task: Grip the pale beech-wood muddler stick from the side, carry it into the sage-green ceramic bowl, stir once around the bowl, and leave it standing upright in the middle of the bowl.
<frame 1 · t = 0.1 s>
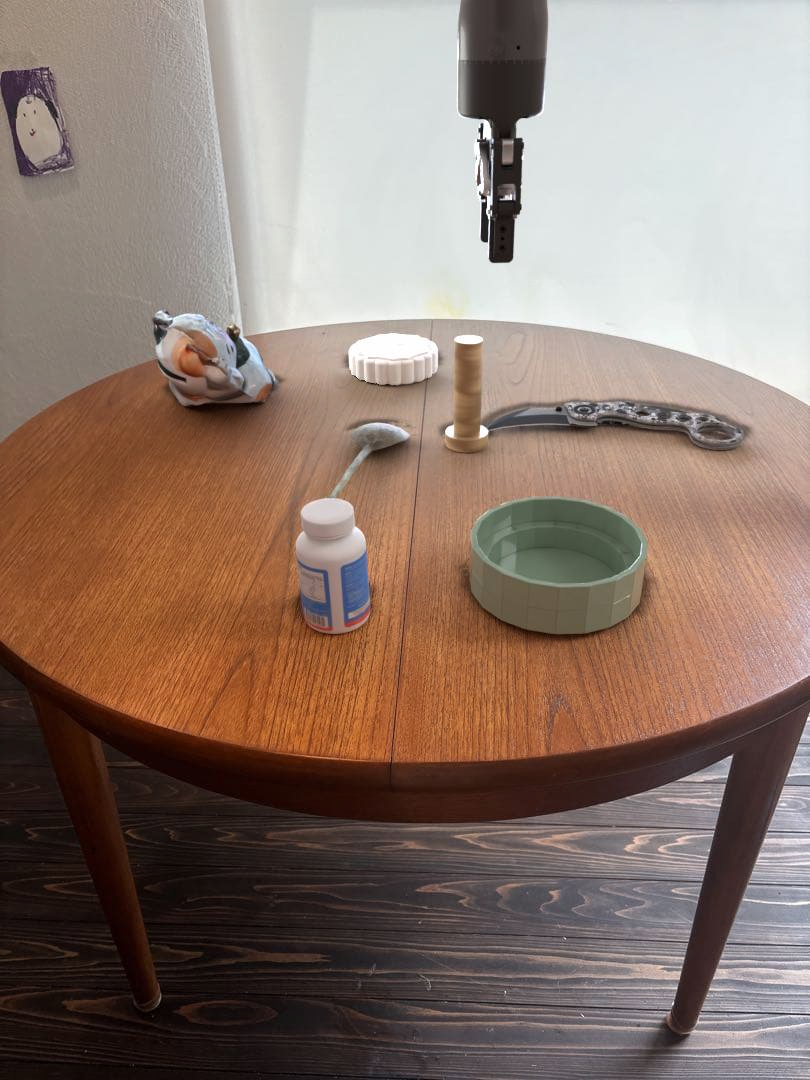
hand: (495, 251, 82), 22 cm above the table, tool pointing down, fingers open, 8 cm apart
pill bottle: (336, 617, 70), on the table
lucky cat figurine: (221, 400, 110), on the table
mooncake: (393, 371, 118), on the table
soupspoon: (358, 476, 91), on the table
muddler: (466, 443, 97), on the table
knife: (611, 430, 100), on the table
bowl: (553, 588, 72), on the table
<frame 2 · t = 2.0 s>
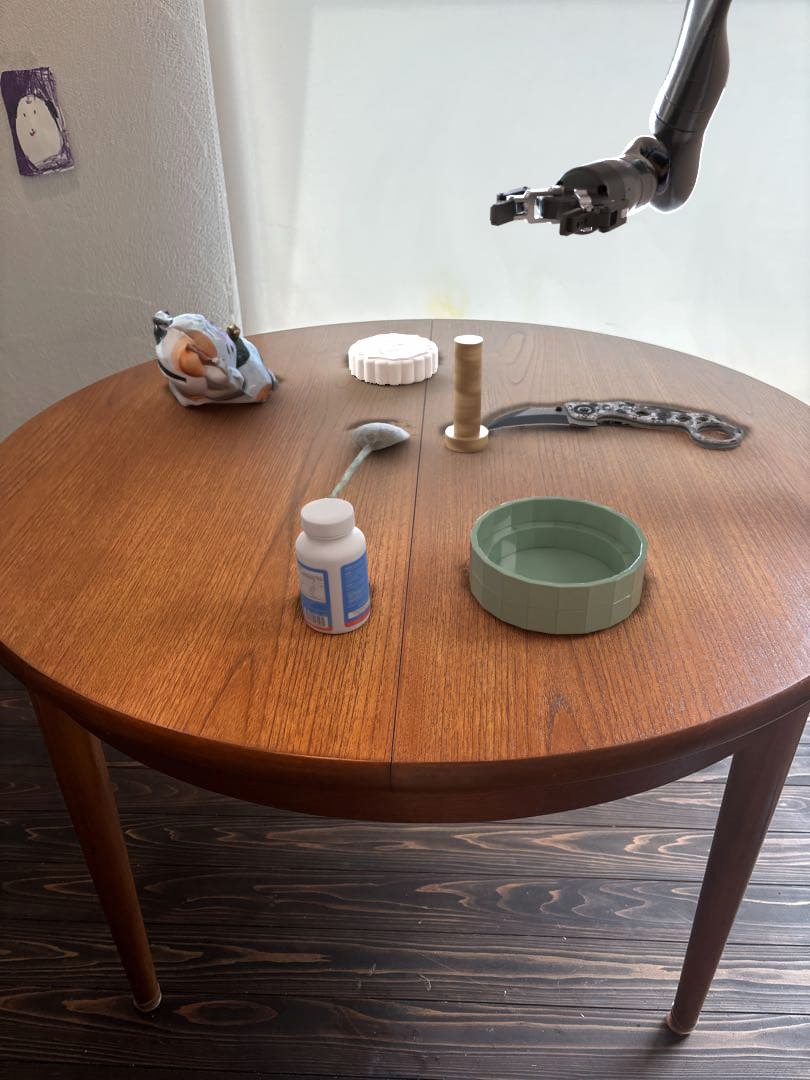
hand: (527, 220, 92), 22 cm above the table, tool horizontal, fingers open, 8 cm apart
nothing on the table moved.
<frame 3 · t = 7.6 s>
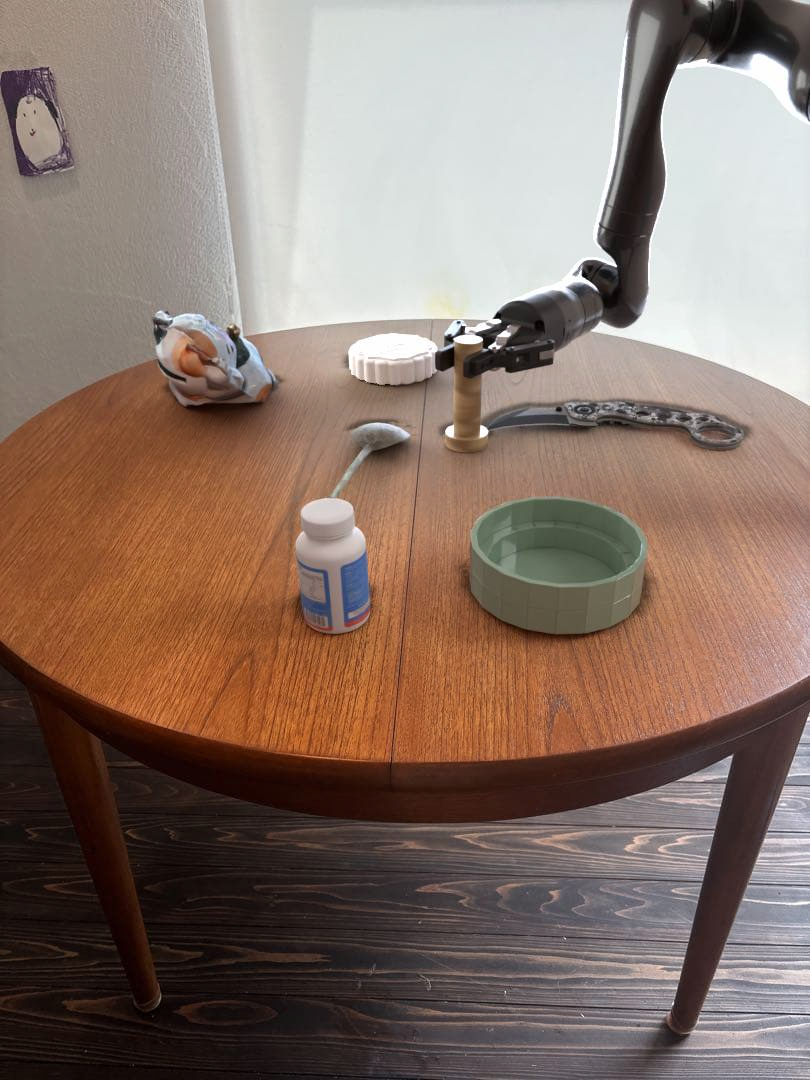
hand: (452, 365, 90), 10 cm above the table, tool horizontal, fingers closed on muddler, 3 cm apart
muddler: (466, 443, 97), on the table, touching gripper
everything else where it was.
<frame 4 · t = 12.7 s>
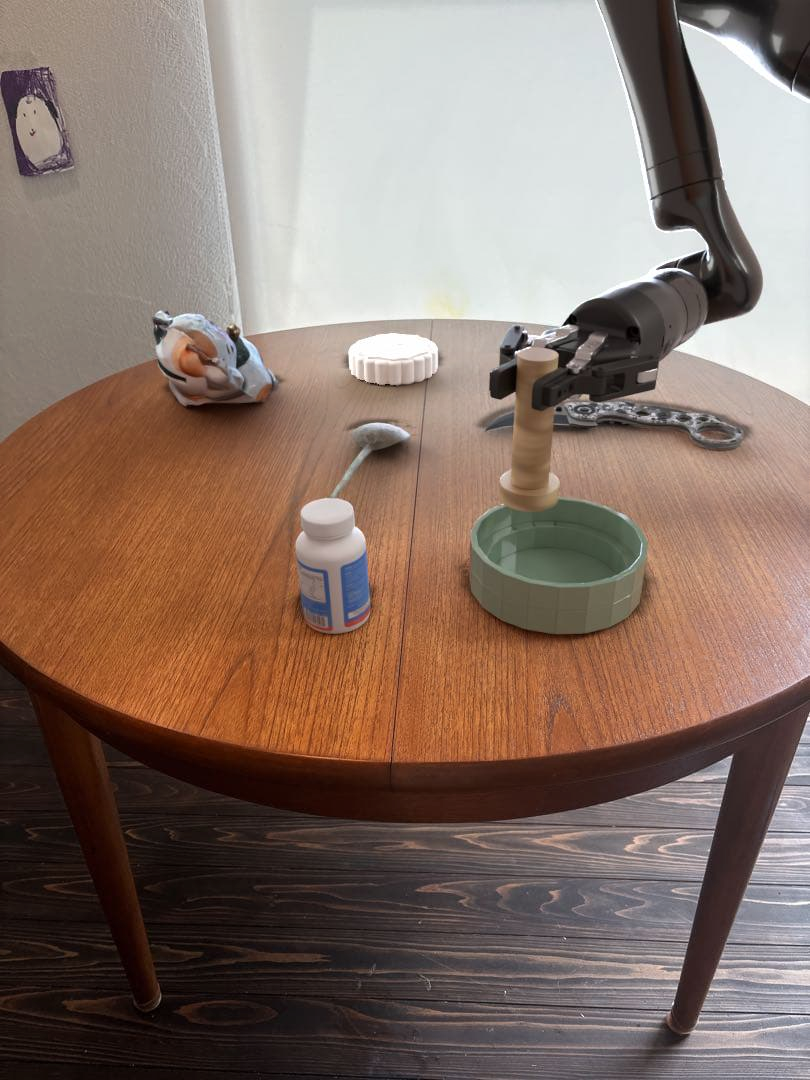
hand: (515, 391, 63), 18 cm above the table, tool horizontal, fingers closed on muddler, 3 cm apart
muddler: (528, 497, 70), point 8 cm above the table, touching gripper
everything else where it was.
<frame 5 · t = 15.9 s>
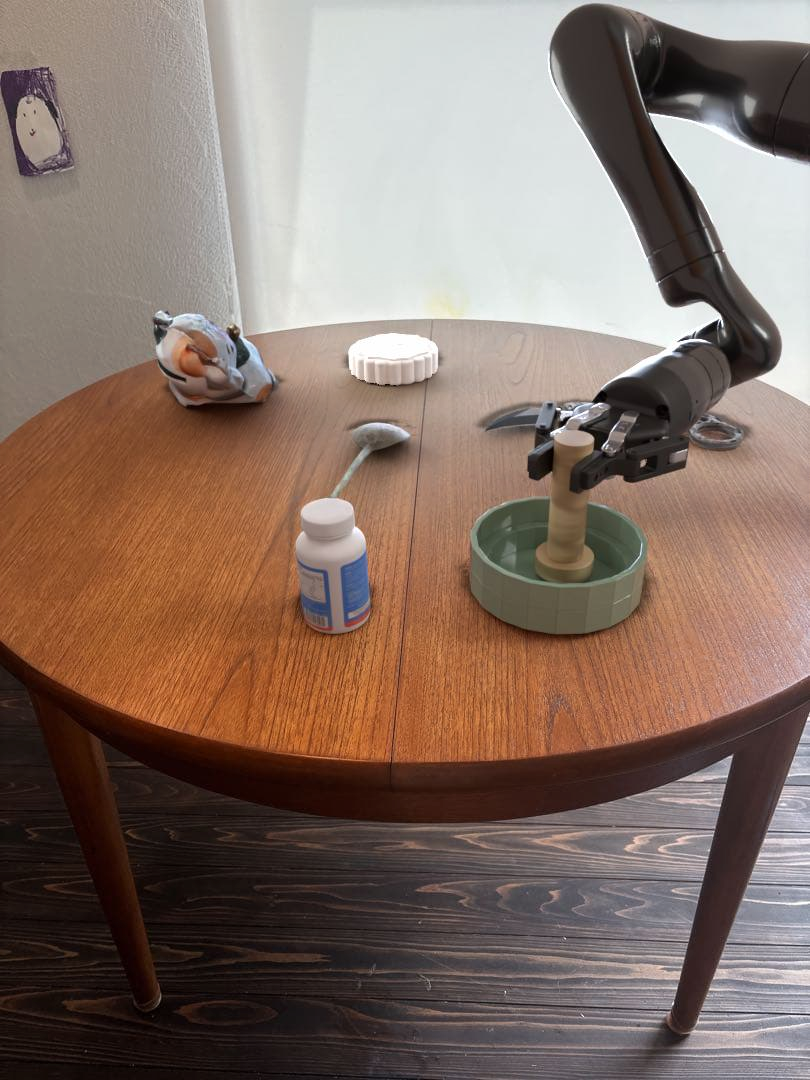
hand: (553, 475, 66), 11 cm above the table, tool horizontal, fingers closed on muddler, 3 cm apart
muddler: (563, 568, 73), point 1 cm above the table, touching gripper
everything else where it was.
when the fingers open (11 cm above the table, at t = 18.1 s): muddler stays where it is, resting on bowl.
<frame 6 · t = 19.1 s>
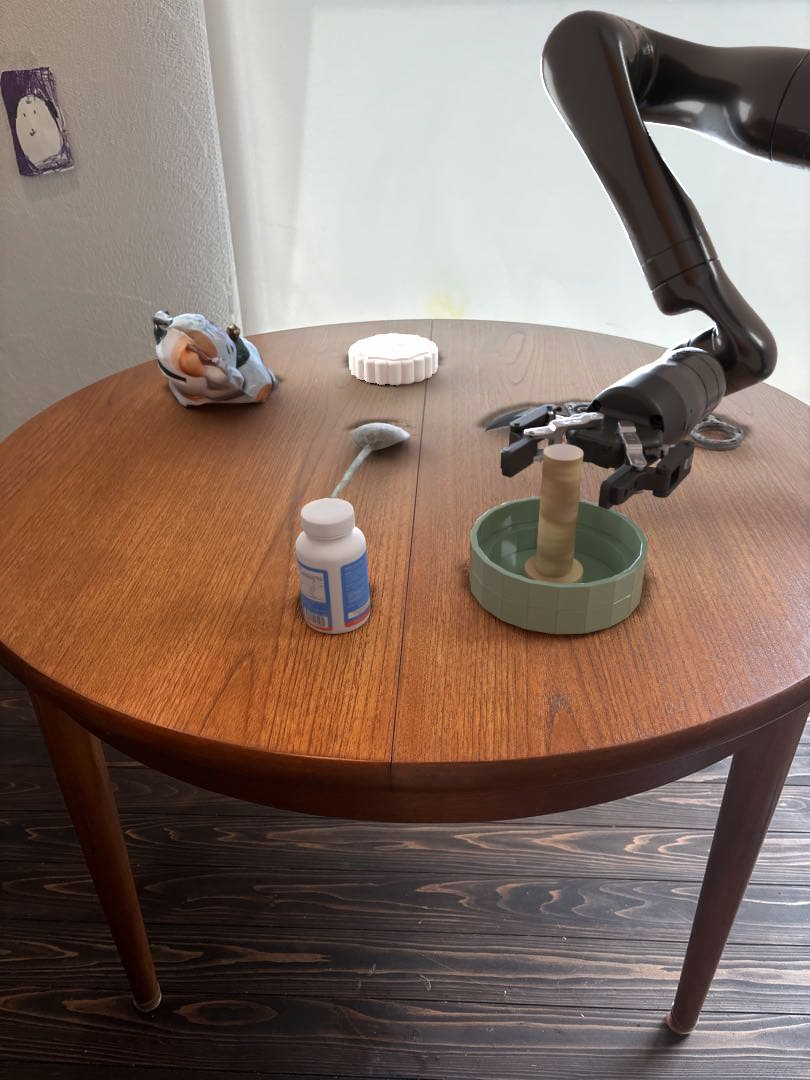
hand: (552, 481, 66), 11 cm above the table, tool horizontal, fingers open, 8 cm apart
muddler: (552, 582, 72), point 1 cm above the table, touching bowl
everything else where it was.
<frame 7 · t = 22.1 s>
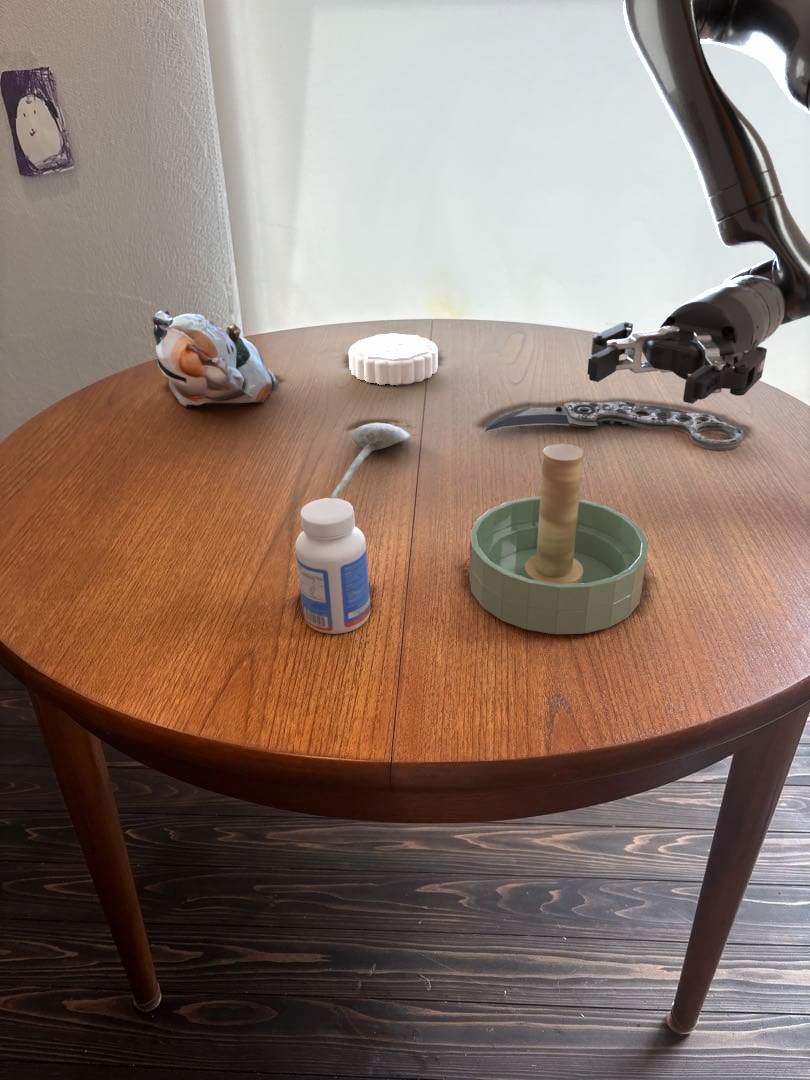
hand: (639, 380, 72), 15 cm above the table, tool horizontal, fingers open, 8 cm apart
nothing on the table moved.
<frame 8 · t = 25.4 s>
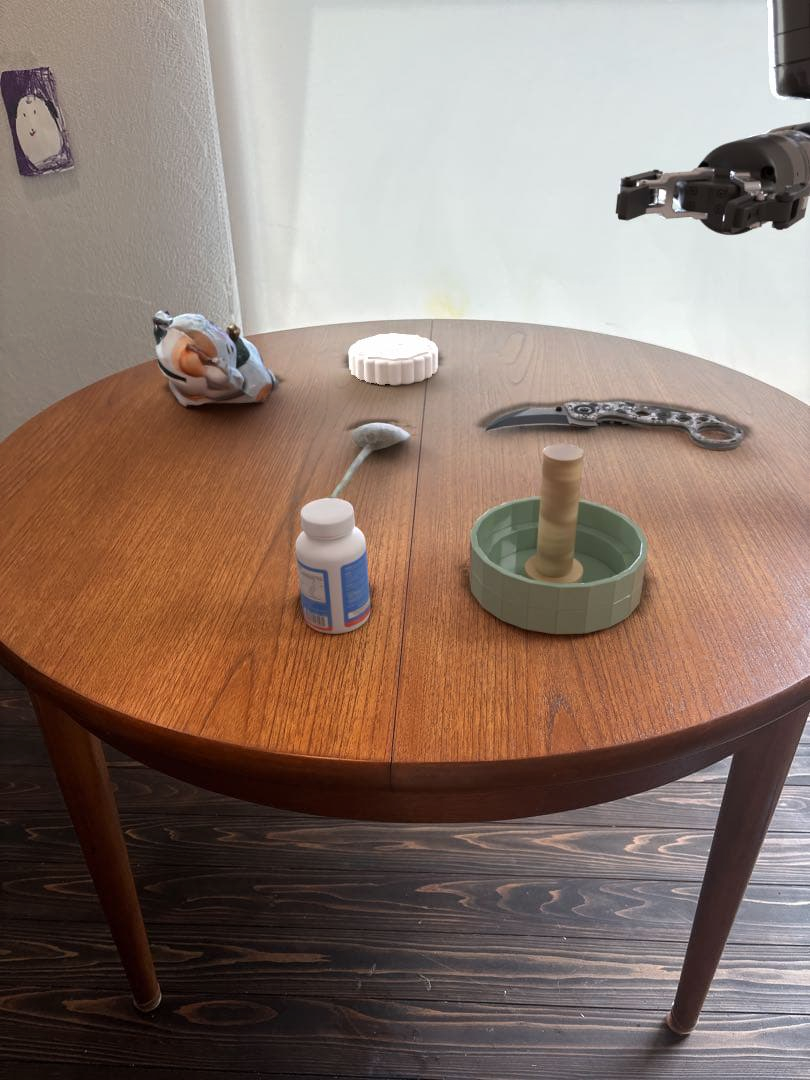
hand: (673, 212, 66), 28 cm above the table, tool horizontal, fingers open, 8 cm apart
nothing on the table moved.
at the end: muddler 0.1 cm off-centre in the bowl, point 0.6 cm above the bowl's base; muddler tilted 0°; the gripper is holding nothing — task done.
